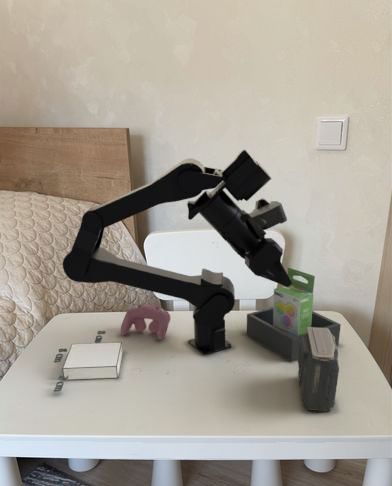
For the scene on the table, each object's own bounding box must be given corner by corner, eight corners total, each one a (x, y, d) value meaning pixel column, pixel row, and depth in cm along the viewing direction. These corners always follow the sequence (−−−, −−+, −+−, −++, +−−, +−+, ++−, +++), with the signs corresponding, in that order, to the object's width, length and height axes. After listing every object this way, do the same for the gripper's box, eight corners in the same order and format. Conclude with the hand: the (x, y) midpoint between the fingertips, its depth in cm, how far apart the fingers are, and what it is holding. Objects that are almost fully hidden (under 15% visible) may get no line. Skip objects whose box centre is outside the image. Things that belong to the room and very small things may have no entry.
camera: (335, 414, 80) (342, 357, 76) (298, 412, 81) (302, 355, 77) (329, 377, 91) (334, 325, 86) (295, 375, 91) (299, 324, 87)
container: (114, 394, 87) (113, 380, 86) (46, 397, 87) (43, 383, 86) (125, 341, 105) (124, 329, 104) (68, 343, 105) (66, 331, 104)
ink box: (271, 334, 105) (274, 271, 99) (285, 328, 107) (288, 266, 102) (296, 346, 100) (301, 280, 94) (310, 340, 102) (316, 275, 97)
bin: (246, 334, 107) (246, 313, 105) (291, 321, 112) (292, 301, 110) (291, 361, 96) (292, 339, 94) (338, 345, 101) (340, 324, 99)
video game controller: (170, 341, 108) (174, 307, 108) (162, 340, 104) (166, 305, 104) (127, 335, 111) (131, 302, 111) (117, 334, 107) (122, 300, 107)
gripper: (274, 192, 82) (333, 259, 87) (249, 180, 99) (300, 237, 104) (223, 242, 84) (284, 305, 89) (207, 222, 101) (259, 276, 106)
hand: (283, 278), depth 97 cm, fingers open, 9 cm apart
